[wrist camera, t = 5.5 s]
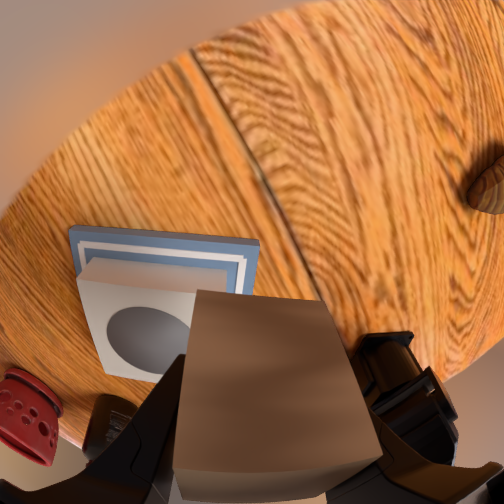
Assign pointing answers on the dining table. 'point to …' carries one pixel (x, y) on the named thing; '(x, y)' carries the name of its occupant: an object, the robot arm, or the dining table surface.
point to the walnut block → (267, 403)
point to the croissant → (489, 189)
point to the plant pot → (29, 416)
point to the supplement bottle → (106, 424)
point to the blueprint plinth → (151, 290)
